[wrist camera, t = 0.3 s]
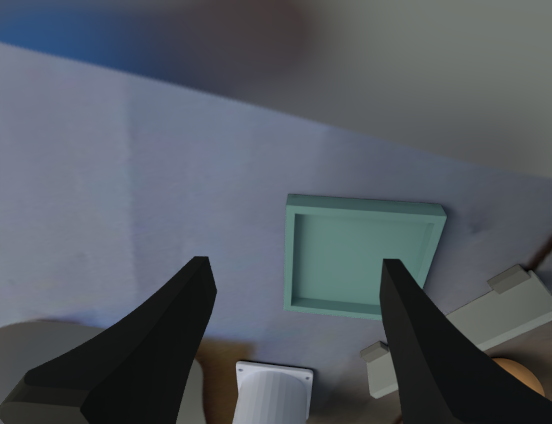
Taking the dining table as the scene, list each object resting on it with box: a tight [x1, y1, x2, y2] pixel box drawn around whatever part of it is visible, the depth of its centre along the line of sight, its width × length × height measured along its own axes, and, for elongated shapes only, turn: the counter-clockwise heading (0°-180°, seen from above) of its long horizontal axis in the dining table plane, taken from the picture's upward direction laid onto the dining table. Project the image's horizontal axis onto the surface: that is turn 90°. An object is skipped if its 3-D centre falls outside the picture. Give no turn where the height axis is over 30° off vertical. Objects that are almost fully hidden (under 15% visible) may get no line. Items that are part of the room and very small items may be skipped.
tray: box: [283, 194, 447, 320], centre depth 25 cm, size 10×10×2 cm
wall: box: [360, 264, 552, 399], centre depth 26 cm, size 16×3×4 cm, turn 142°
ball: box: [492, 358, 545, 397], centre depth 28 cm, size 5×5×5 cm
